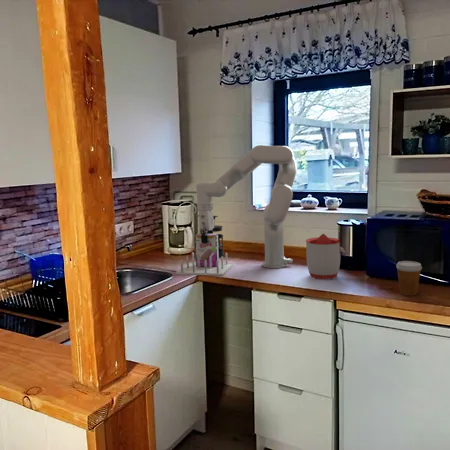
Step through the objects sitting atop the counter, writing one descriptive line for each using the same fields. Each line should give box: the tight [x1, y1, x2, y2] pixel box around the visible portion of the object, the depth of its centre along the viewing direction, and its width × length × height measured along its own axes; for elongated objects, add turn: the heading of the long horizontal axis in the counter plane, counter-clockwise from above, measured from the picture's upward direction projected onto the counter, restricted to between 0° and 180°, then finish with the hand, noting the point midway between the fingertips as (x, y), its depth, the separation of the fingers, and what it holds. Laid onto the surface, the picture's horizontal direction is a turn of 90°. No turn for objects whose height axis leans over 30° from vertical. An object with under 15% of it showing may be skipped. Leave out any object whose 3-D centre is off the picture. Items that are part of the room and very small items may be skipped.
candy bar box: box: [194, 233, 220, 267], centre depth 231 cm, size 11×5×16 cm, turn 82°
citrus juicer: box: [305, 233, 346, 280], centre depth 208 cm, size 16×17×20 cm
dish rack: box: [175, 251, 234, 277], centre depth 228 cm, size 24×19×7 cm
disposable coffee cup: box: [396, 260, 423, 296], centre depth 181 cm, size 10×10×12 cm
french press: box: [212, 215, 225, 259], centre depth 257 cm, size 12×9×23 cm
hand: (207, 241), depth 231 cm, fingers open, 9 cm apart
